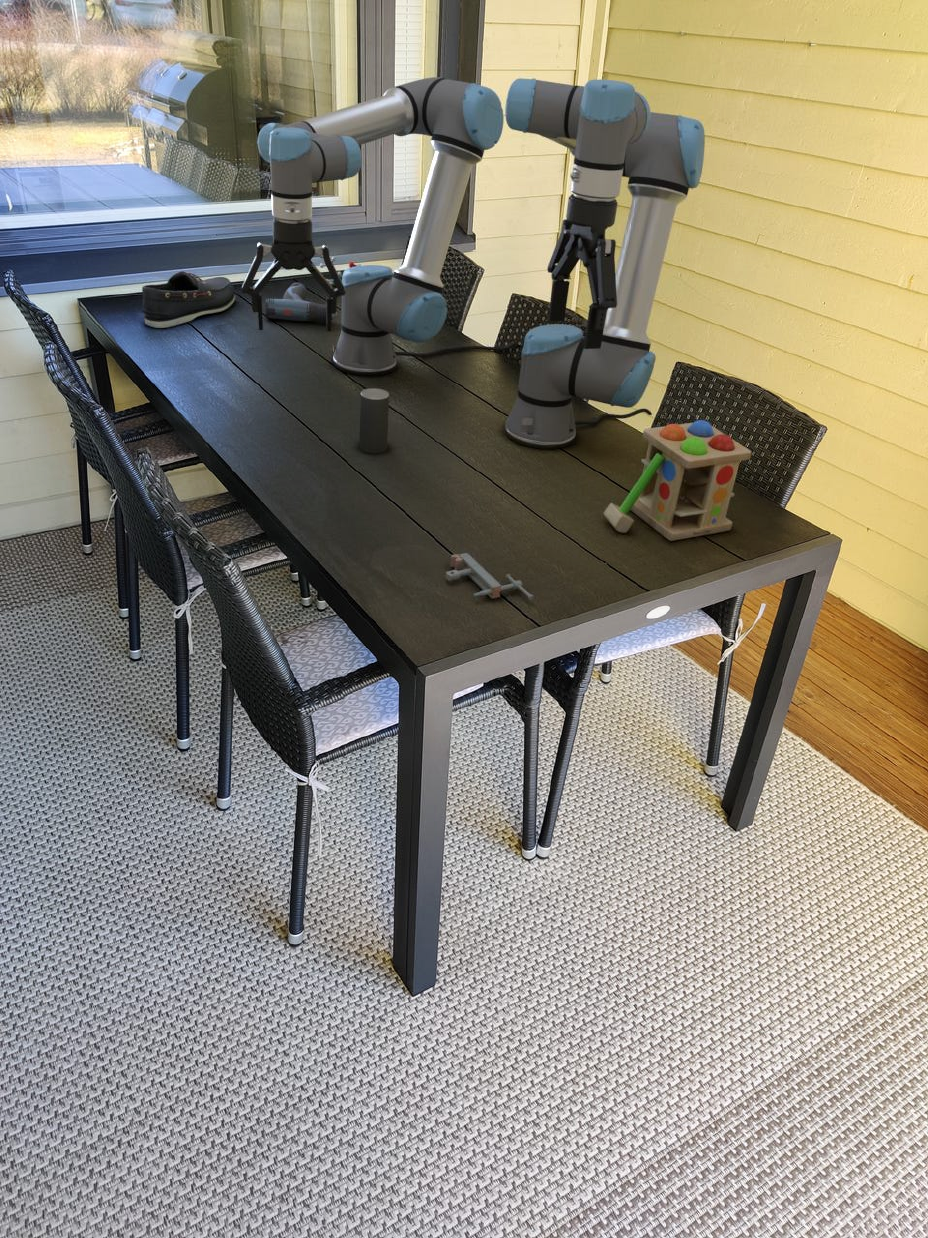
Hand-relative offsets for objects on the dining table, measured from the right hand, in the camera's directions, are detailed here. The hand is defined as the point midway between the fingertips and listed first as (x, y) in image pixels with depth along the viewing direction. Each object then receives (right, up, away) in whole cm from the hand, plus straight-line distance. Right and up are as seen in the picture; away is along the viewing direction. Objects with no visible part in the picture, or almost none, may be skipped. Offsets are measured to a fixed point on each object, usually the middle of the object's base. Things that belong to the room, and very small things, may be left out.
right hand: (573, 333), depth 161 cm
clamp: (-15, -42, -2) cm, 44 cm away
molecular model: (-55, +51, +129) cm, 149 cm away
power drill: (-61, +37, +106) cm, 128 cm away
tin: (-37, -12, +39) cm, 54 cm away
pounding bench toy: (+19, -29, +22) cm, 41 cm away
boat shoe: (-90, +35, +99) cm, 138 cm away
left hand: (-52, +12, +38) cm, 66 cm away
